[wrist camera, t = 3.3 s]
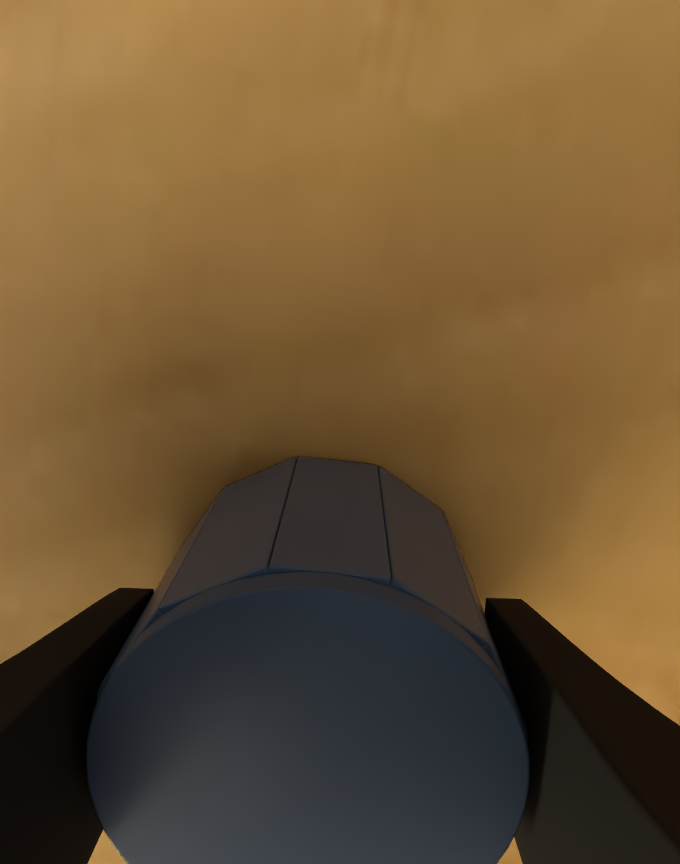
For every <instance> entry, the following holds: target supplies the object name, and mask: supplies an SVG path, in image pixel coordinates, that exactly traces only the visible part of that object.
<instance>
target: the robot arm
mask: <svg viewBox="0 0 680 864" xmlns="http://www.w3.org/2000/svg"><path fill="white" fill-rule="evenodd" d="M153 594H154V589H139V588H119V589H117V590H115V591H114V592H112V593H110V594H108V595H107V596H105V597H104V598H102V599H100V600H99V601H97V602H96V603H94V604H93V605H91V606H90V607H88V608H87V609H85V610H84V611H82V612H81V613H79V614H78V615H76V616H75V617H73V618H72V619H70V620H69V621H67V622H66V623H64V624H63V625H61V626H60V627H58V628H57V629H55V630H54V631H52V632H51V633H49V634H48V635H46V636H45V637H43V638H42V639H40V640H39V641H37V642H35V643H34V644H32V645H31V646H29V647H28V648H26V649H25V650H23V651H21V652H20V653H18V654H16V655H15V656H13V657H12V658H10V659H8V660H7V661H5V662H3V663H2V664H0V864H87V863H88V861H89V859H90V857H91V855H92V852H93V850H94V848H95V846H96V844H97V842H98V839H99V837H100V835H101V833H102V831H103V827H102V825H101V823H100V820H99V818H98V816H97V813H96V811H95V809H94V806H93V802H92V798H91V795H90V791H89V787H88V781H87V770H86V746H87V734H88V730H89V726H90V722H91V717H92V713H93V711H94V708H95V706H96V703H97V692H98V690H99V686H100V684H101V682H102V681H103V679H104V677H105V676H106V674H107V672H108V671H109V669H110V667H111V665H112V664H113V662H114V660H115V659H116V657H117V655H118V654H119V652H120V650H121V648H122V647H123V645H124V643H125V642H126V640H127V638H128V636H129V635H130V633H131V631H132V630H133V628H134V626H135V625H136V623H137V621H138V619H139V618H140V616H141V614H142V613H143V611H144V609H145V608H146V606H147V604H148V602H149V601H150V599H151V597H152V596H153ZM485 617H486V619H487V622H488V625H489V627H490V630H491V633H492V635H493V638H494V641H495V643H496V646H497V649H498V652H499V654H500V657H501V659H502V662H503V665H504V667H505V670H506V672H507V675H508V678H509V680H510V683H511V686H512V688H513V691H514V694H515V696H516V699H517V702H518V704H519V707H520V710H521V712H522V715H523V718H524V720H525V723H526V726H527V729H528V736H529V737H528V741H527V743H528V749H529V755H530V784H529V790H528V796H527V802H526V807H525V810H524V813H523V816H522V819H521V822H520V825H519V828H518V830H517V832H516V834H515V835H514V837H515V841H516V844H517V847H518V850H519V853H520V856H521V859H522V862H523V864H680V726H679V725H678V724H676V723H675V722H673V721H672V720H671V719H669V718H668V717H666V716H665V715H663V714H662V713H661V712H659V711H658V710H656V709H655V708H654V707H652V706H651V705H650V704H648V703H647V702H646V701H644V700H643V699H642V698H640V697H639V696H638V695H636V694H635V693H634V692H632V691H631V690H630V689H628V688H627V687H625V686H624V685H623V684H622V683H620V682H619V681H618V680H617V679H615V678H614V677H613V676H611V675H610V674H609V673H608V672H606V671H605V670H604V669H603V668H602V667H600V666H599V665H598V664H597V663H595V662H594V661H593V660H592V659H591V658H589V657H588V656H587V655H586V654H585V653H583V652H582V651H581V650H580V649H579V648H578V647H576V646H575V645H574V644H573V643H572V642H571V641H569V640H568V639H567V638H566V637H565V636H564V635H562V634H561V633H560V632H559V631H558V630H557V629H556V628H554V627H553V626H552V625H551V624H550V623H549V622H548V621H546V620H545V619H544V618H543V617H542V616H541V615H540V614H538V613H537V612H536V611H535V610H534V609H533V608H531V607H530V606H529V605H528V604H527V603H525V602H524V601H523V600H521V599H503V598H486V605H485Z"/></svg>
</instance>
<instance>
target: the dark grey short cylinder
mask: <svg viewBox="0 0 680 864" xmlns="http://www.w3.org/2000/svg"><path fill="white" fill-rule="evenodd" d="M528 737H529V736H528V729H527V726H526V723H525V720H524V718H523V715H522V712H521V710H520V707H519V704H518V702H517V699H516V696H515V694H514V691H513V688H512V686H511V683H510V680H509V678H508V675H507V672H506V670H505V667H504V665H503V662H502V659H501V657H500V654H499V652H498V649H497V646H496V643H495V641H494V638H493V635H492V633H491V630H490V627H489V625H488V622H487V619H486V617H485V613H484V610H483V608H482V605H481V602H480V600H479V597H478V594H477V591H476V589H475V586H474V583H473V581H472V578H471V575H470V573H469V570H468V568H467V566H466V563H465V561H464V559H463V556H462V554H461V552H460V549H459V547H458V545H457V542H456V540H455V538H454V535H453V533H452V531H451V528H450V526H449V524H448V521H447V519H446V517H445V514H444V512H443V511H441V509H440V508H439V507H438V506H436V505H435V504H433V503H432V502H431V501H429V500H428V499H426V498H425V497H423V496H422V495H421V494H419V493H418V492H416V491H415V490H414V489H412V488H411V487H409V486H408V485H406V484H405V483H404V482H402V481H401V480H399V479H398V478H396V477H395V476H394V475H392V474H391V473H389V472H388V471H387V470H385V469H384V468H382V467H381V466H379V467H377V465H375V464H365V463H356V462H347V461H337V460H328V459H319V458H310V457H298V459H297V458H296V457H294V458H292V459H289V460H287V461H284V462H282V463H280V464H277V465H275V466H272V467H270V468H268V469H265V470H263V471H260V472H258V473H256V474H253V475H251V476H249V477H246V478H244V479H241V480H239V481H237V482H234V483H232V484H229V485H227V486H226V487H225V488H223V489H222V490H221V492H220V493H219V495H218V496H217V497H216V499H215V500H214V501H213V503H212V504H211V506H210V507H209V508H208V510H207V511H206V513H205V514H204V515H203V517H202V518H201V519H200V521H199V522H198V524H197V525H196V526H195V528H194V529H193V530H192V532H191V533H190V535H189V536H188V537H187V539H186V540H185V542H184V543H183V545H182V546H181V548H180V550H179V551H178V553H177V555H176V556H175V558H174V560H173V562H172V563H171V565H170V567H169V568H168V570H167V572H166V573H165V575H164V577H163V579H162V580H161V582H160V584H159V585H158V587H157V589H156V591H155V592H154V594H153V596H152V597H151V599H150V601H149V602H148V604H147V606H146V608H145V609H144V611H143V613H142V614H141V616H140V618H139V619H138V621H137V623H136V625H135V626H134V628H133V630H132V631H131V633H130V635H129V636H128V638H127V640H126V642H125V643H124V645H123V647H122V648H121V650H120V652H119V654H118V655H117V657H116V659H115V660H114V662H113V664H112V665H111V667H110V669H109V671H108V672H107V674H106V676H105V677H104V679H103V681H102V682H101V684H100V686H99V690H98V692H97V703H96V706H95V708H94V711H93V713H92V717H91V722H90V726H89V730H88V734H87V746H86V770H87V781H88V787H89V791H90V795H91V798H92V802H93V806H94V809H95V811H96V813H97V816H98V818H99V820H100V823H101V825H102V827H103V829H104V831H105V833H106V834H107V836H108V837H109V839H110V841H111V842H112V844H113V846H114V847H115V849H116V850H117V851H118V853H119V854H120V855H121V856H122V857H123V859H124V860H125V861H126V862H127V864H497V863H498V861H499V860H500V858H501V857H502V856H503V854H504V853H505V852H506V850H507V849H508V847H509V845H510V843H511V841H512V839H513V837H514V835H515V834H516V832H517V830H518V828H519V825H520V822H521V819H522V816H523V813H524V810H525V807H526V802H527V796H528V790H529V784H530V755H529V749H528V743H527V741H528Z"/></svg>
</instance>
